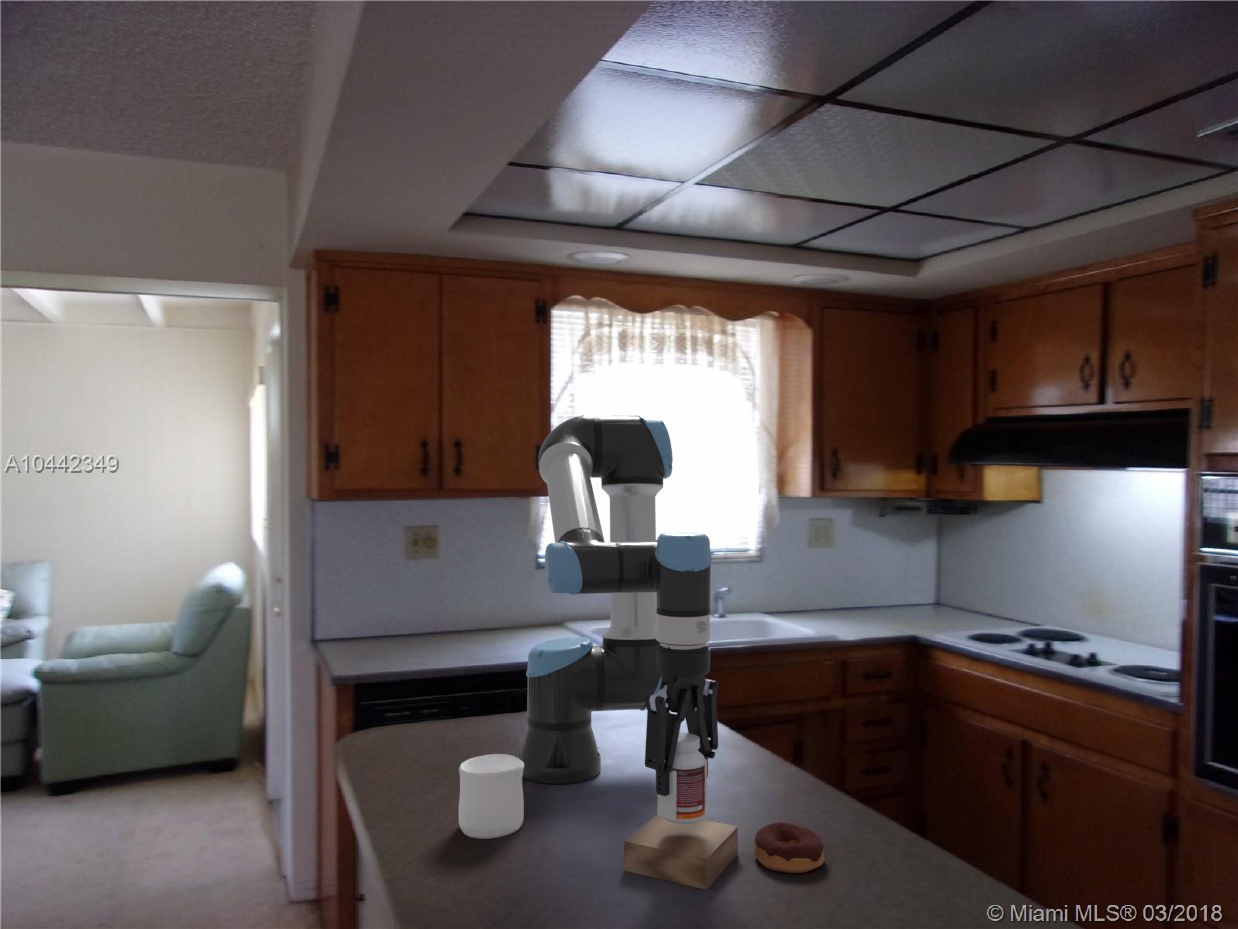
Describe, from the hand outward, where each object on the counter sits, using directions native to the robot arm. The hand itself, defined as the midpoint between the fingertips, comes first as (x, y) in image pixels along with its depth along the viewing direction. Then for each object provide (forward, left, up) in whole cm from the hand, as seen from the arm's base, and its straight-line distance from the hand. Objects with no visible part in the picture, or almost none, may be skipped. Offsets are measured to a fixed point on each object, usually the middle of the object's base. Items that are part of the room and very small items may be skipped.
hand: (682, 810), depth 125 cm
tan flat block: (0, 0, -7) cm, 7 cm away
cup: (-29, -10, -8) cm, 32 cm away
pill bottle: (0, 0, -1) cm, 1 cm away
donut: (+10, +11, -8) cm, 17 cm away
